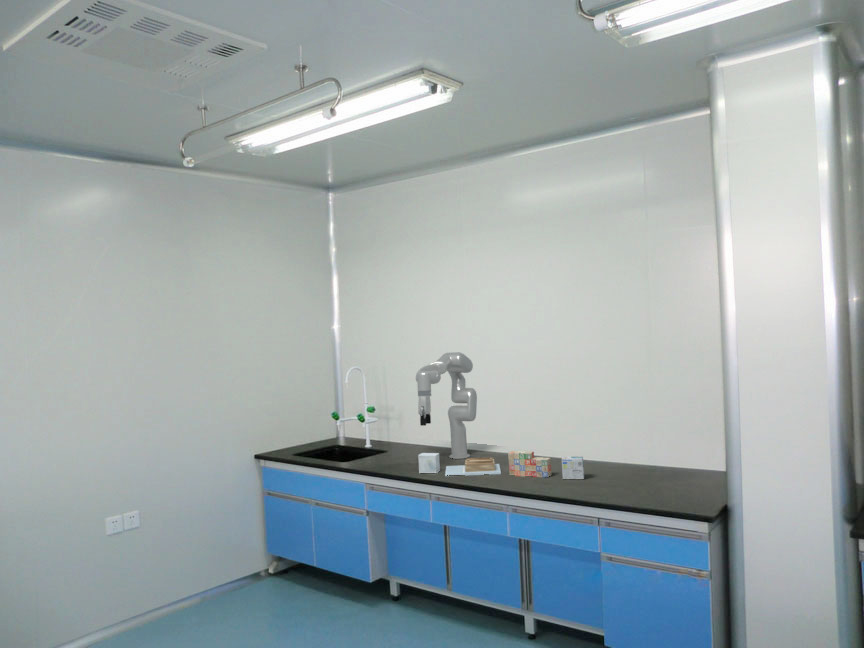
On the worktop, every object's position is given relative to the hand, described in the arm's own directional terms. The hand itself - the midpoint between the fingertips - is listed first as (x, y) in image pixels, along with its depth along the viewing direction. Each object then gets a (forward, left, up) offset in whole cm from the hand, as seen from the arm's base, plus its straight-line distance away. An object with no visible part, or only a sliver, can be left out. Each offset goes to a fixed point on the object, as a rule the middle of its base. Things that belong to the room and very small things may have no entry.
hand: (425, 424), depth 382 cm
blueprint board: (+3, +25, -26) cm, 36 cm away
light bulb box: (+31, +76, -27) cm, 86 cm away
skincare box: (+3, +1, -27) cm, 27 cm away
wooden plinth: (+3, +29, -26) cm, 39 cm away
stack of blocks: (+20, +55, -27) cm, 64 cm away
